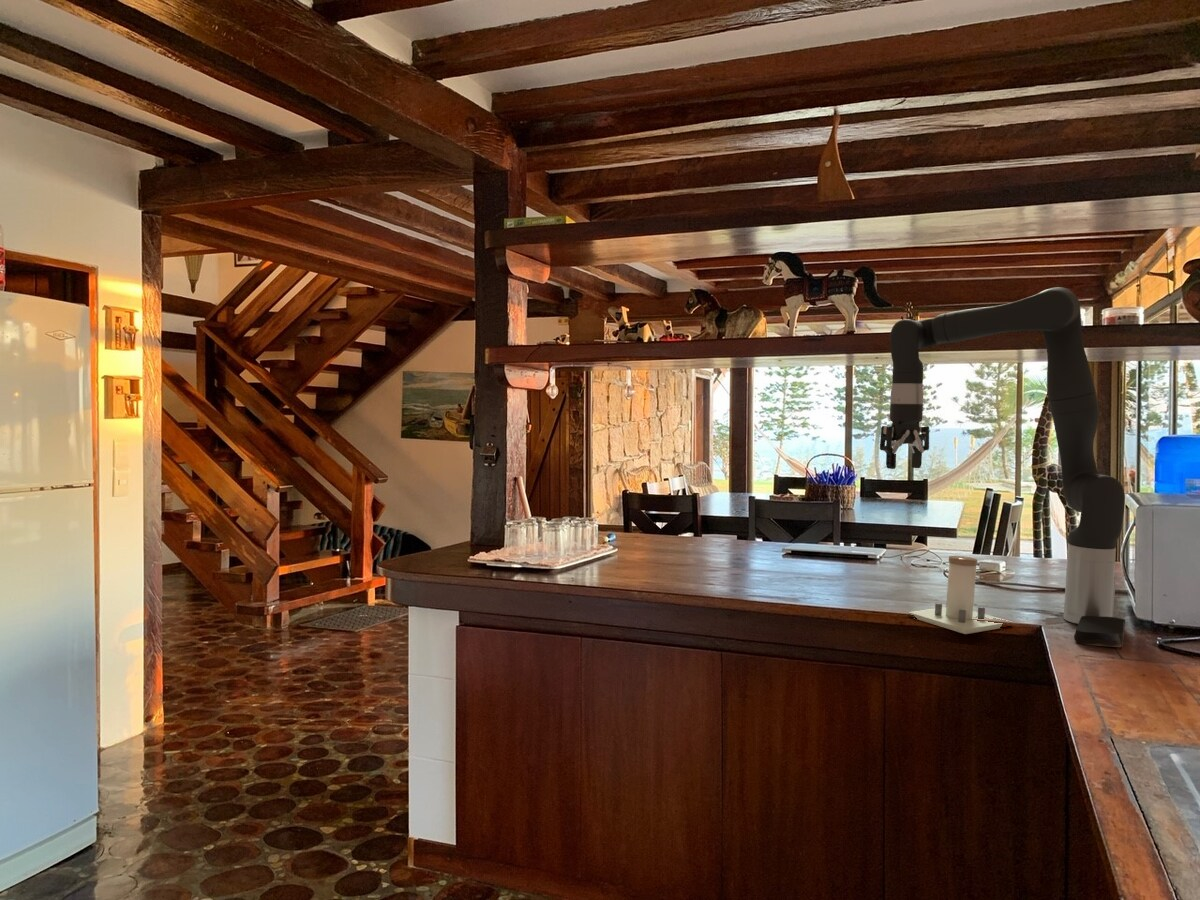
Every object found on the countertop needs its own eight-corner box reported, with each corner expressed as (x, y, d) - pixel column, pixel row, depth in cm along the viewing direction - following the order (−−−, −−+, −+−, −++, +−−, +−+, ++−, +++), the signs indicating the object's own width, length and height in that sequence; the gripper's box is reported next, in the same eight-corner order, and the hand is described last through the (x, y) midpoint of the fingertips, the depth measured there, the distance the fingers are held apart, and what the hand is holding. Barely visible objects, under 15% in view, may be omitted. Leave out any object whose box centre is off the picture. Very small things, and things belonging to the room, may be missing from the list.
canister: (956, 612, 187) (960, 555, 186) (979, 618, 182) (983, 560, 181) (939, 614, 184) (943, 556, 183) (961, 620, 179) (965, 561, 178)
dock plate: (953, 609, 193) (954, 595, 193) (1011, 626, 180) (1012, 610, 180) (908, 616, 186) (908, 601, 186) (965, 634, 173) (965, 617, 173)
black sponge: (1122, 653, 163) (1123, 635, 162) (1073, 645, 167) (1074, 627, 167) (1125, 634, 176) (1126, 618, 176) (1079, 628, 181) (1080, 611, 181)
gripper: (897, 402, 195) (894, 470, 196) (939, 402, 202) (936, 469, 203) (873, 401, 202) (870, 467, 203) (915, 402, 208) (912, 466, 209)
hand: (903, 468), depth 203 cm, fingers open, 8 cm apart
